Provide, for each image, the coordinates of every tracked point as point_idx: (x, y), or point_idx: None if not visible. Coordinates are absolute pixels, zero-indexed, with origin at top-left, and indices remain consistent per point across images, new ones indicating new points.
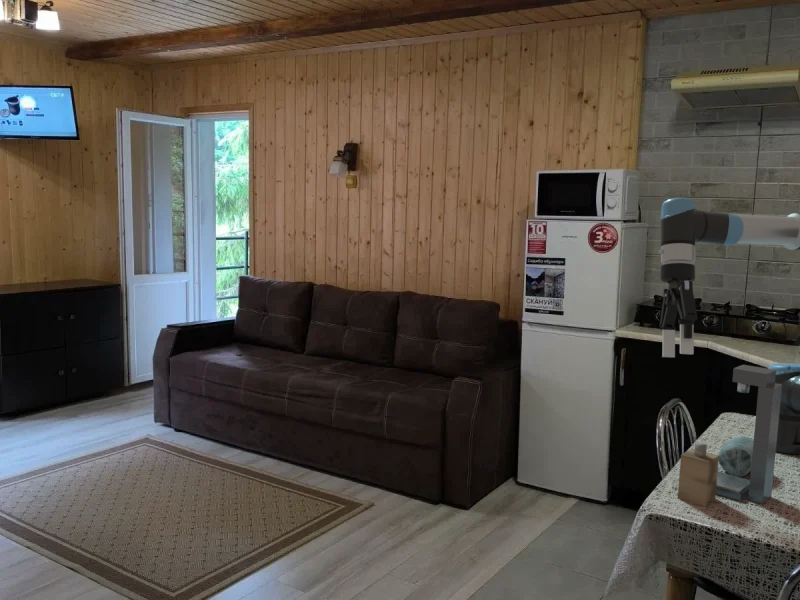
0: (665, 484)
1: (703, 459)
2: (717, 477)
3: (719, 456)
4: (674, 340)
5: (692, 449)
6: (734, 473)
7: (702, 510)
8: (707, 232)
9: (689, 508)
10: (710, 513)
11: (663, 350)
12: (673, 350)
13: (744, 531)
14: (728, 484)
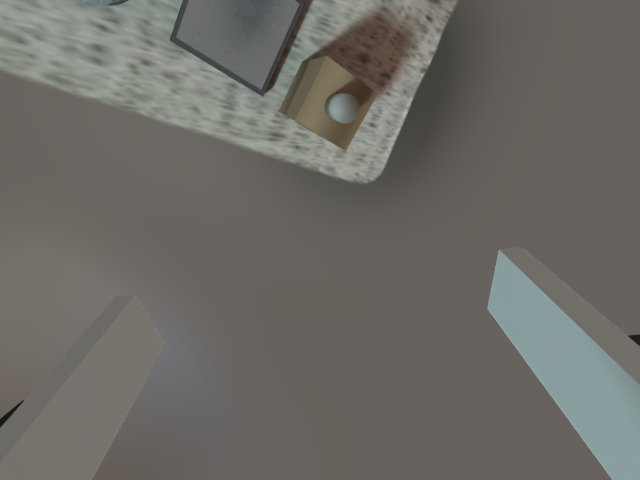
0: (262, 151)
1: (363, 103)
2: (226, 38)
3: (113, 3)
4: (49, 405)
5: (300, 119)
6: None
7: None
8: None
9: None
10: (370, 87)
11: (145, 377)
12: (112, 334)
13: (427, 41)
14: (264, 20)
